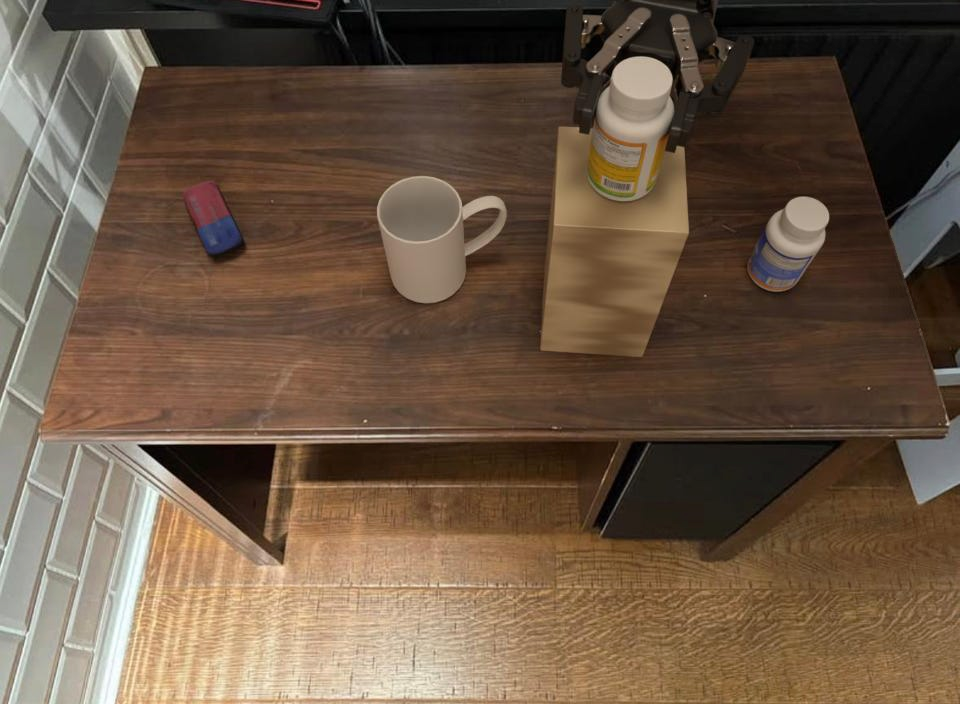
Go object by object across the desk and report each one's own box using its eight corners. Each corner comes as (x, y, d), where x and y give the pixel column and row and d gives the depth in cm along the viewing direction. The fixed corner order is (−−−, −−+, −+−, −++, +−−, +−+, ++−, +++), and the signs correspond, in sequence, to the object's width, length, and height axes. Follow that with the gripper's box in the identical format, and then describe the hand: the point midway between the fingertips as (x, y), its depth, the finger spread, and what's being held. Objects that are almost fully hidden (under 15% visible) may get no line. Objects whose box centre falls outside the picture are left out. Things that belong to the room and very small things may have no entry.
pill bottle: (766, 241, 79) (799, 179, 70) (809, 271, 77) (849, 211, 68) (735, 271, 77) (765, 212, 68) (778, 303, 75) (815, 246, 66)
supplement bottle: (635, 141, 59) (658, 38, 50) (669, 189, 57) (699, 91, 48) (574, 162, 58) (587, 62, 49) (606, 212, 56) (625, 116, 47)
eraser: (182, 196, 83) (175, 185, 82) (216, 182, 84) (211, 171, 82) (213, 267, 78) (207, 257, 77) (250, 252, 79) (245, 241, 77)
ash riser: (640, 272, 77) (683, 132, 59) (642, 357, 72) (689, 232, 55) (544, 266, 78) (558, 125, 60) (539, 350, 73) (553, 225, 55)
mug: (397, 311, 75) (383, 250, 66) (385, 249, 79) (370, 183, 70) (513, 288, 76) (516, 225, 67) (496, 228, 80) (496, 160, 71)
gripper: (587, -86, 55) (527, 69, 48) (784, -54, 53) (753, 114, 46) (578, 3, 62) (523, 151, 54) (752, 34, 60) (720, 194, 52)
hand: (628, 133), depth 50 cm, fingers closed on supplement bottle, 5 cm apart
